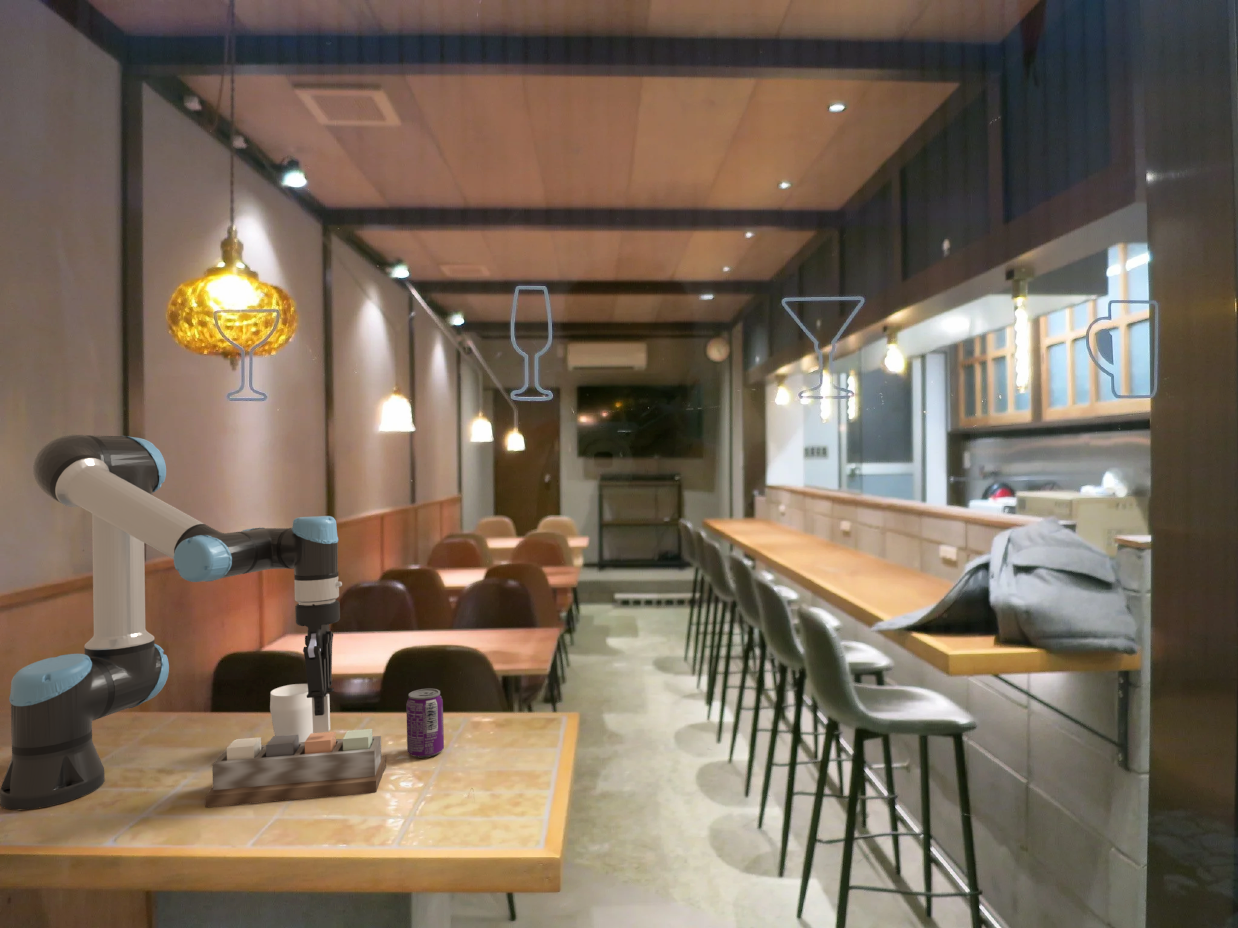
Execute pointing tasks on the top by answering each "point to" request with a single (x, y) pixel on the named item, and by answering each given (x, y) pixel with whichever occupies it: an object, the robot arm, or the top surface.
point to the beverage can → (425, 723)
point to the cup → (291, 711)
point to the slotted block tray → (296, 775)
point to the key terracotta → (320, 742)
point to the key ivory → (244, 748)
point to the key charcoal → (282, 745)
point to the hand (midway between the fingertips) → (321, 730)
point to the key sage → (357, 740)
